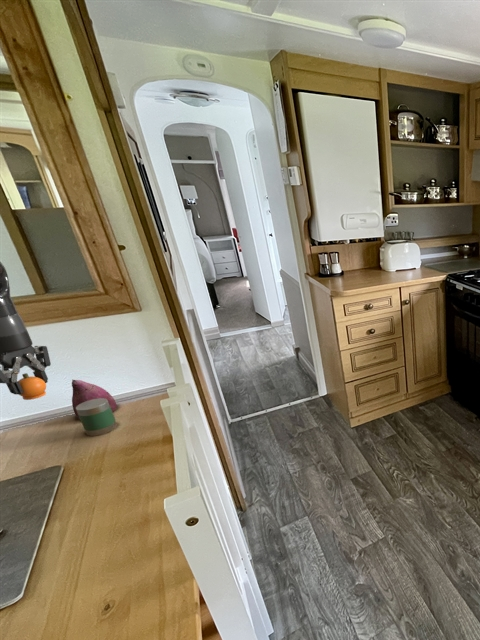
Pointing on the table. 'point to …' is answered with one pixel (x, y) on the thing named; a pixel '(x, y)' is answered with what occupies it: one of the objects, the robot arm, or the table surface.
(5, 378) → the robot arm
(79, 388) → the vegetable
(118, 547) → the table surface
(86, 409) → the tin
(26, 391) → the pumpkin
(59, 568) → the table surface
